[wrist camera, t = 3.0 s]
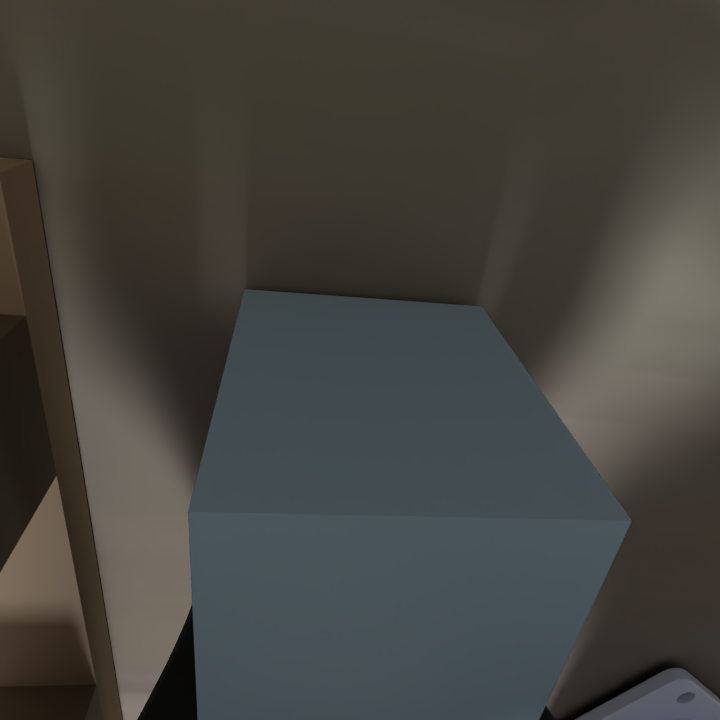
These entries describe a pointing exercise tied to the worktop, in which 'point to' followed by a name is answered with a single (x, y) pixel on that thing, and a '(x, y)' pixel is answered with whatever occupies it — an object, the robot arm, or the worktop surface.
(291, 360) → the pale blue rectangular prism
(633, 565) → the worktop surface
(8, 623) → the cradle jig
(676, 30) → the worktop surface
